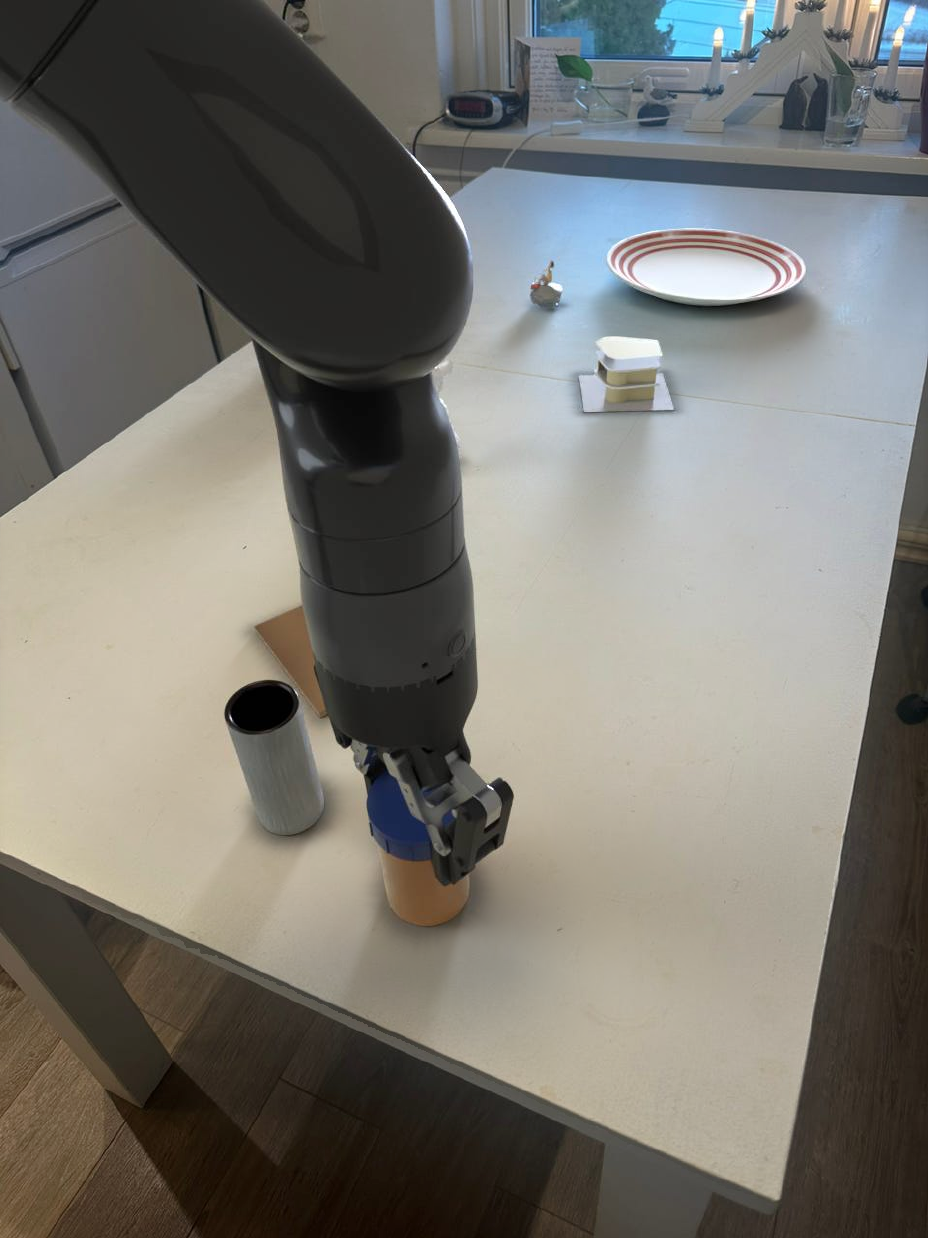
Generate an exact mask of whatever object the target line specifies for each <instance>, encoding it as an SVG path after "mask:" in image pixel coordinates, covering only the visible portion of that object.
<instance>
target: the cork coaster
mask: <svg viewBox="0 0 928 1238" xmlns="http://www.w3.org/2000/svg"><path fill="white" fill-rule="evenodd" d="M253 628H254V631H255V633H256V634H257V635H258V637H259V639H261V641H262V642H263V643H264V645H265V646H266V648H267V649H268V650H269V651H270V653H271V654H272V655H273V657H274V659H276V661H277V662H278V663H279V665H280V666H281V667H282V669H283V670H284V671H285V673H286V674H287V675H288V677H289V678H290V680H291V681H292V682H293V684H294V685H295V686H296V688H297V689H298V691H299V692H300V693H301V694H302V696H303V697H304V698H305V700H306V701H307V702H308V704H309V705H310V707H311V708H312V709H313V711H314V712H315V713H316V714H317V716H318V717H319V718H323V717H325V716H328V714H327V712H326V709H325V706H324V702H323V697H322V694H321V691H320V687H319V684H318V681H317V678H316V676H315V672H314V668H313V666H314V665H315V661H314V657H313V652H312V648H311V642H310V638H309V633H308V629H307V624H306V620H305V616H304V611H303V606H302V605H300V606H297V607H295V608H293V609H291V610H288V611H286V612H284V613H282V614H279V615H276V616H274V617H272V618H269V619H268V620H265V621H262V622H260V623H259V624H256V625H254V626H253Z"/></svg>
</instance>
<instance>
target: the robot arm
mask: <svg viewBox="0 0 928 1238" xmlns="http://www.w3.org/2000/svg"><path fill="white" fill-rule="evenodd" d="M0 101H1V102H3V103H4V102H8V103H9V107H10V109H11V110H12V111H13V112H15V114H17V115H18V116H19V117H21V119H23V120H24V121H25V122H27V123H28V124H29V125H31V126H32V127H33V128H34V129H36V130H37V131H38V132H39V133H41V135H43V136H45V137H46V138H48V139H49V140H50V141H51V142H53V143H54V144H56V145H57V146H58V147H60V148H61V149H63V151H65V152H66V153H67V154H69V155H70V156H71V157H72V158H73V159H75V160H76V161H77V162H78V163H79V164H80V165H82V166H83V167H84V168H85V169H86V170H87V171H89V173H91V174H92V175H93V176H94V177H95V178H96V179H97V180H98V181H99V182H100V183H101V184H102V185H103V186H104V187H105V188H106V189H107V190H108V192H110V193H111V195H113V197H114V198H115V199H116V200H117V201H118V202H119V203H120V205H121V206H122V207H123V208H124V209H125V211H127V212H128V213H129V214H130V216H131V217H132V218H133V220H135V221H136V222H137V224H138V225H139V226H140V227H141V228H142V229H143V230H144V231H145V232H146V233H147V234H148V235H149V236H150V237H151V238H152V239H153V240H154V241H155V242H156V243H157V245H158V246H160V247H161V248H162V249H163V250H164V251H165V252H166V254H167V255H168V256H169V257H170V258H171V259H172V260H173V261H174V262H175V263H176V264H177V265H178V266H179V267H180V268H181V269H182V271H184V272H185V273H186V274H187V275H188V276H189V277H190V278H191V280H193V282H195V284H196V285H197V286H198V287H199V288H200V289H201V290H202V291H203V292H204V293H205V294H206V295H207V296H208V297H209V298H210V299H211V300H212V301H213V302H214V303H215V304H216V305H217V306H218V307H220V309H221V310H222V311H223V312H224V313H225V314H227V315H228V316H229V317H230V318H231V319H232V320H233V321H234V322H235V323H236V324H237V325H238V326H239V327H240V328H241V329H242V330H243V331H244V332H245V333H247V334H248V335H249V336H250V339H251V343H252V346H253V349H254V353H255V356H256V360H257V364H258V368H259V371H260V374H261V378H262V382H263V385H264V388H265V392H266V395H267V397H268V398H267V399H268V402H269V405H270V408H271V411H272V415H273V419H274V424H275V429H276V435H277V443H278V449H279V451H278V452H279V459H280V465H281V479H282V485H283V486H282V487H283V492H284V499H285V503H286V507H287V513H288V517H289V523H290V527H291V531H292V537H293V540H294V545H295V550H296V555H297V560H298V567H299V589H300V599H301V606H303V611H304V616H305V620H306V624H307V629H308V633H309V638H310V642H311V648H312V652H313V657H314V661H315V665H314V666H313V668H314V672H315V676H316V678H317V681H318V684H319V687H320V691H321V694H322V697H323V702H324V706H325V709H326V712H327V716H328V719H329V722H330V725H331V728H332V731H333V734H334V738H335V741H336V743H337V744H338V745H339V746H340V747H341V748H342V749H344V750H346V749H348V748H349V749H350V750H351V751H352V753H353V756H352V760H353V763H354V766H355V768H356V769H357V771H359V772H360V773H361V774H362V775H363V779H364V785H365V790H366V794H367V796H368V793H369V790H370V788H371V786H372V784H373V783H374V781H375V780H376V779H377V778H378V777H379V776H380V775H381V774H382V773H383V772H385V771H386V770H388V771H389V773H390V775H392V776H393V777H395V778H396V779H397V781H398V783H399V786H400V788H401V791H402V793H403V796H404V798H405V801H406V803H407V806H408V808H409V811H410V813H411V815H412V816H413V817H415V818H416V819H418V820H419V821H421V822H422V823H424V824H425V826H426V829H427V831H428V834H429V836H430V839H431V841H432V842H431V850H432V858H433V866H434V874H435V878H436V879H437V880H438V881H439V882H440V883H441V884H442V885H443V886H448V885H449V884H451V883H452V884H453V885H455V884H456V883H457V882H459V881H460V880H461V879H463V878H464V877H465V876H466V875H468V874H469V875H470V873H472V872H473V871H474V870H475V869H476V865H477V864H478V863H479V862H480V861H482V860H483V859H485V858H486V857H487V856H488V855H489V854H492V852H493V851H497V850H498V849H499V848H500V847H502V846H503V845H504V843H505V839H506V833H507V829H508V826H509V825H508V824H509V820H510V815H511V812H512V808H513V803H514V798H515V795H514V791H513V789H512V787H511V785H510V784H509V783H508V782H507V781H506V780H505V779H504V778H502V777H497V778H496V779H494V780H493V781H491V782H488V783H487V782H485V780H484V779H483V778H482V777H481V776H480V775H479V774H478V773H477V771H476V770H475V769H473V767H471V762H472V754H471V753H472V752H471V749H470V747H469V744H468V742H467V740H466V737H465V732H464V728H465V725H466V723H467V720H468V718H469V716H470V714H471V711H472V710H473V707H474V704H475V702H476V699H477V695H478V694H477V693H478V689H479V677H478V658H477V657H478V655H477V633H476V616H475V613H476V612H475V595H474V593H475V592H474V581H473V573H472V568H471V567H472V566H471V563H470V558H469V555H468V549H467V544H466V543H467V542H466V537H465V516H464V515H465V514H464V496H463V494H464V493H463V476H462V467H461V458H460V457H459V452H460V451H459V452H458V447H457V442H456V438H455V434H454V431H453V428H454V427H453V425H452V426H451V423H452V422H451V420H450V418H449V419H448V417H447V414H446V412H445V410H444V408H443V406H442V404H441V401H440V399H441V398H440V396H439V395H438V394H437V391H436V388H435V385H434V381H433V376H432V370H434V369H435V368H436V367H437V366H438V365H439V364H440V363H441V362H442V361H445V360H446V358H447V357H448V356H449V354H450V353H451V352H452V350H454V347H455V346H456V345H457V343H458V341H459V339H460V337H461V335H462V333H463V331H464V329H465V326H466V325H467V321H468V318H469V315H470V311H471V307H472V301H473V295H474V278H475V277H474V264H473V255H472V250H471V247H470V246H471V245H470V242H469V238H468V236H467V232H466V228H465V227H464V224H463V222H462V219H461V217H460V215H459V214H458V211H457V209H456V207H455V205H454V203H453V202H452V201H451V199H450V197H449V196H448V195H447V193H446V192H445V190H443V188H442V187H441V185H440V184H439V183H438V182H437V181H436V179H435V178H434V177H433V176H432V175H431V174H430V172H428V170H427V169H426V168H425V167H424V166H423V165H422V164H421V163H420V162H419V161H418V159H417V158H415V156H414V155H413V154H412V153H411V152H410V151H409V150H408V149H407V148H406V147H405V145H404V144H403V143H402V142H401V141H400V140H399V139H398V138H397V137H396V136H395V135H394V134H393V132H391V131H390V129H389V128H388V127H387V126H386V125H385V123H383V122H382V121H381V120H380V119H379V118H378V117H377V116H376V114H375V113H374V112H373V111H372V110H371V109H370V108H369V107H368V106H367V105H366V104H365V103H364V101H362V99H361V98H359V96H358V95H357V94H356V93H355V92H354V91H353V90H352V89H351V88H350V87H349V86H348V84H346V83H345V82H344V80H343V79H342V78H341V77H339V75H338V74H337V73H336V72H335V71H334V70H333V69H332V68H331V67H330V66H329V65H328V64H327V63H326V62H325V61H324V60H323V59H322V58H321V57H320V56H319V55H318V54H317V52H316V51H315V50H313V48H311V46H310V45H309V44H308V43H307V42H306V41H305V40H304V39H303V38H302V36H300V35H299V34H298V33H297V32H296V31H295V30H294V29H293V28H292V27H291V26H290V25H289V24H288V23H287V22H286V21H285V20H284V19H283V18H282V17H281V16H280V15H279V14H278V13H277V12H276V11H275V10H274V9H273V8H272V7H271V5H269V4H268V2H267V1H266V0H0ZM439 398H440V399H439ZM450 422H451V423H450ZM452 427H453V428H452ZM442 785H443V786H442ZM440 786H441V787H440ZM437 787H440V788H439V789H437V790H436V791H434V792H433V793H431V794H430V795H428V796H427V797H426V798H424V797H423V794H422V792H429V791H431V790H433V789H435V788H437ZM451 810H452V811H451ZM449 811H451V812H452V815H453V816H454V817H455V819H454V820H453V821H451V822H450V823H448V824H447V825H446V826H444V825H443V822H442V819H443V816H444V815H445V814H446V813H448V812H449Z"/></svg>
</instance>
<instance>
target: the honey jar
mask: <svg viewBox="0 0 928 1238" xmlns="http://www.w3.org/2000/svg"><path fill="white" fill-rule="evenodd" d="M376 845H377V851H378V856H379V861H380V862H379V863H380V866H381V872H382V878H383V883H384V889H385V894H386V898H387V902H388V905H389V907H390V909H391V910H392V911H393V913H394V914H395V915H396V916H397V917H398V918H399V919H401V920H402V921H404V922H406V923H407V924H411V925H414V926H419V927H433V926H438V925H442V924H444V923H446V922H448V921H450V920H452V919H453V918H454V917H456V916H457V915H458V914H459V913H460V912H461V910H463V908H464V906H465V905H466V903H467V901H468V898H469V895H470V887H471V886H470V884H471V883H470V873H469V874H468V875H466V876H465V877H464V878H463V879H461V880H460V881H459V882H457V883H456V884H455V885H453V884H452V883H451V884H449V885H448V886H443V885H442V884H441V883H440V882H439V881H438V880H437V879H436V878H435V874H434V866H433V858H432V859H427V860H420V861H411V860H405V859H401V858H398V857H395V856H393V855H391V854H389V853H388V854H387V853H386V851H385V850H384V849H382V848H381V847H380V846H379V845H378V843H377V842H376Z"/></svg>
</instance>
